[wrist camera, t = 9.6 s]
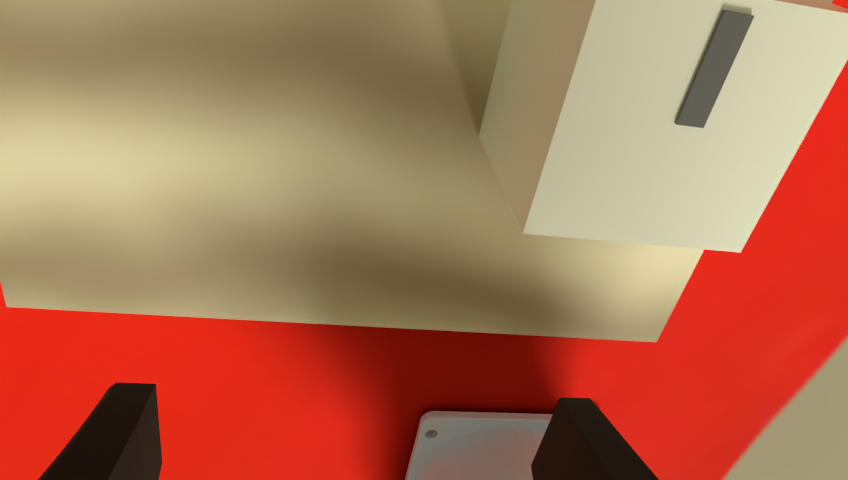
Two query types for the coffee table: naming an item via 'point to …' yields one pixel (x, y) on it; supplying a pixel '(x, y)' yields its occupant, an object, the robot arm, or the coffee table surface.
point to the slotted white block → (656, 113)
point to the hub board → (286, 173)
